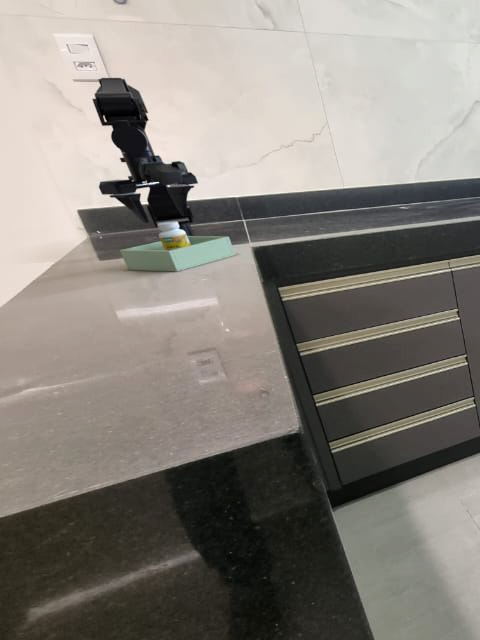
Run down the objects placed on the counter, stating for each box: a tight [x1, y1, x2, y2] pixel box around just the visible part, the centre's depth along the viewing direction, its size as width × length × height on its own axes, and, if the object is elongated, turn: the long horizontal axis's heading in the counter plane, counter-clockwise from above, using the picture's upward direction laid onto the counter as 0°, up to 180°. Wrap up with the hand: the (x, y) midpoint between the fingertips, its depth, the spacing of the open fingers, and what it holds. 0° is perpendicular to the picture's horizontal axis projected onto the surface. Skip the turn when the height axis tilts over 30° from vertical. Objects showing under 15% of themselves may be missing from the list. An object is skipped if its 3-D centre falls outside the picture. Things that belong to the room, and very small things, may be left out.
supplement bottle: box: [157, 220, 191, 250], centre depth 133 cm, size 5×5×10 cm
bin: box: [119, 235, 236, 272], centre depth 135 cm, size 16×16×5 cm
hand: (166, 219), depth 131 cm, fingers open, 9 cm apart
